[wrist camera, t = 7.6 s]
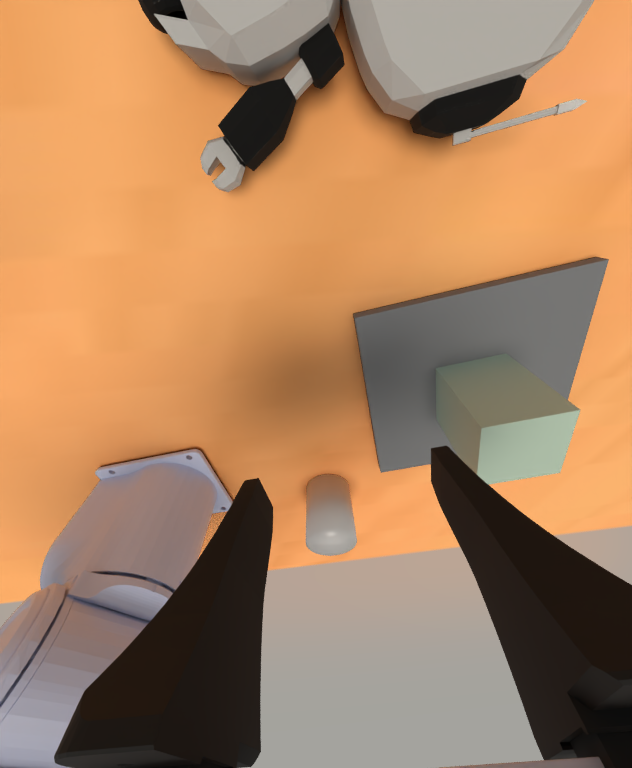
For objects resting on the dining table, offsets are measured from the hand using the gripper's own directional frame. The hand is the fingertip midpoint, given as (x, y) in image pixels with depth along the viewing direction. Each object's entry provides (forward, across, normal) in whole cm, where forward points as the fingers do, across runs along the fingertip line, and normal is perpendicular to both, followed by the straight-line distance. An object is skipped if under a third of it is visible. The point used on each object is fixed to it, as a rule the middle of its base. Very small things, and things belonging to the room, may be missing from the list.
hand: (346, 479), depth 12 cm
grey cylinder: (+9, +3, +12) cm, 16 cm away
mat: (+9, -9, +3) cm, 13 cm away
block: (+8, -9, +3) cm, 13 cm away
